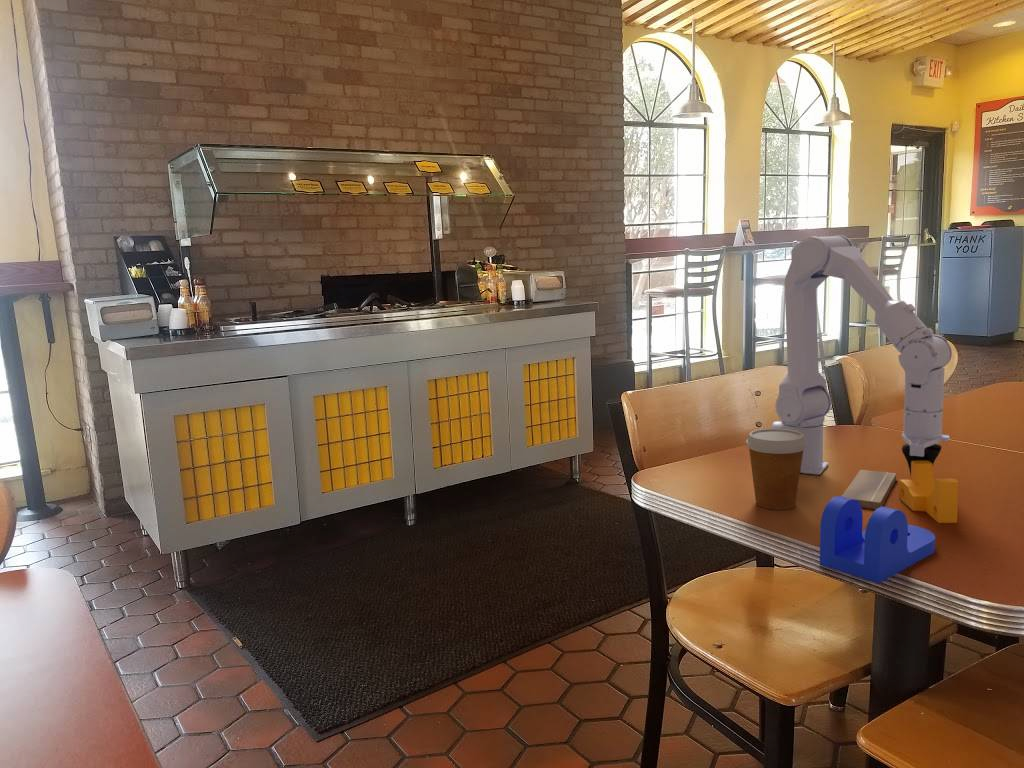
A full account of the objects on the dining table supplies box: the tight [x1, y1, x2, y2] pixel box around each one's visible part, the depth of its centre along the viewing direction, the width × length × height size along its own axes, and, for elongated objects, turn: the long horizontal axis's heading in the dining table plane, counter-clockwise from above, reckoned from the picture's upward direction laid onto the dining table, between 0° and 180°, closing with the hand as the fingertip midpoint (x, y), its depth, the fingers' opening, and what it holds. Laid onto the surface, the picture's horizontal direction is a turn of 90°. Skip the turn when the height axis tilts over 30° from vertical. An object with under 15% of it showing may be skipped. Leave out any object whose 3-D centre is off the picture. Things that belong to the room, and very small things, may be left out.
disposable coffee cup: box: [745, 428, 807, 511], centre depth 131 cm, size 10×10×12 cm
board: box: [841, 469, 897, 510], centre depth 136 cm, size 6×18×1 cm, turn 147°
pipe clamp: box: [898, 460, 960, 524], centre depth 125 cm, size 12×4×6 cm, turn 172°
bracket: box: [819, 495, 936, 584], centre depth 108 cm, size 18×8×9 cm, turn 127°
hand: (920, 487), depth 133 cm, fingers closed
